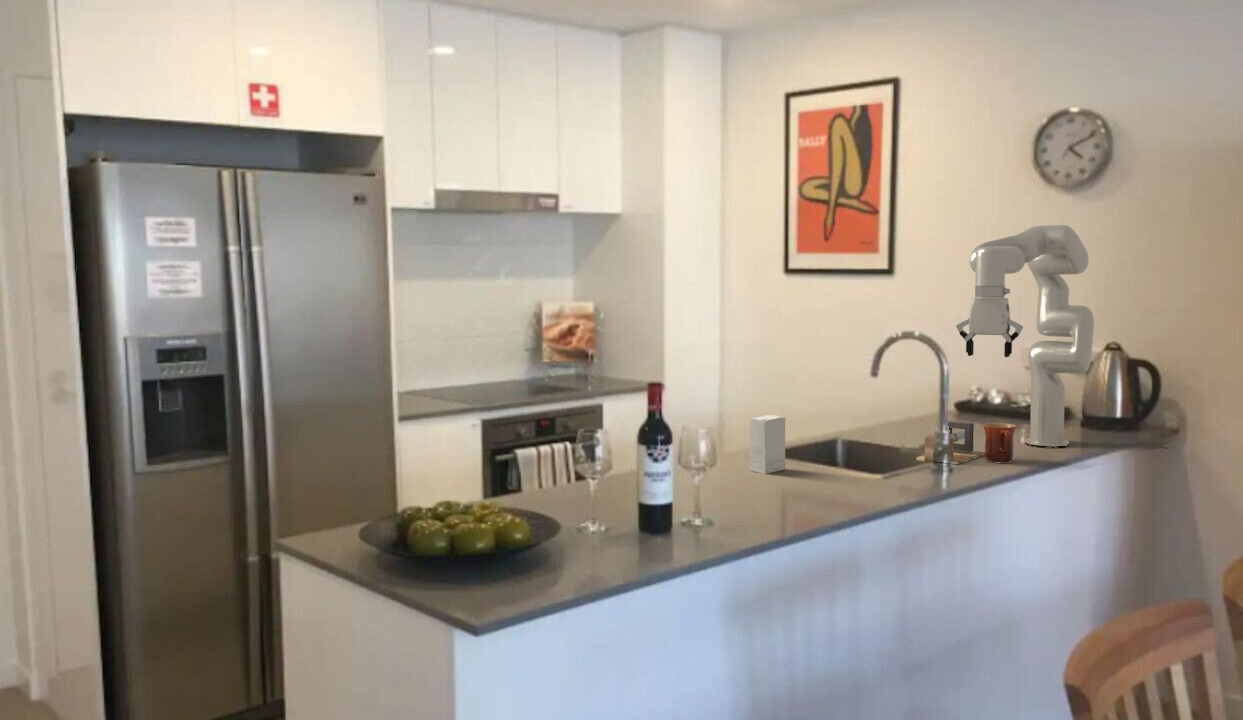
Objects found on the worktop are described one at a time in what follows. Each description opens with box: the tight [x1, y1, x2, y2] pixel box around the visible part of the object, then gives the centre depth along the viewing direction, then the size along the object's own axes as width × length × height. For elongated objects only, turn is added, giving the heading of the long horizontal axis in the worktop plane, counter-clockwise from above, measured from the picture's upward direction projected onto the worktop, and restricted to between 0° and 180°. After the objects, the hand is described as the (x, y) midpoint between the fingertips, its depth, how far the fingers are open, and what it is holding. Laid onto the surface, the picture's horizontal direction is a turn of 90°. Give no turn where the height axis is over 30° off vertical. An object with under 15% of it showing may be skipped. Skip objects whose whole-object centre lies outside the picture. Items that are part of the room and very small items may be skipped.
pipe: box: [950, 429, 965, 443], centre depth 302 cm, size 18×3×3 cm, turn 139°
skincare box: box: [749, 414, 786, 475], centre depth 285 cm, size 8×6×15 cm
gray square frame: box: [947, 420, 975, 452], centre depth 305 cm, size 2×8×8 cm, turn 49°
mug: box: [982, 422, 1017, 463], centre depth 293 cm, size 12×9×10 cm
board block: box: [915, 435, 985, 464], centre depth 302 cm, size 20×12×7 cm, turn 139°
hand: (988, 356), depth 286 cm, fingers open, 9 cm apart
